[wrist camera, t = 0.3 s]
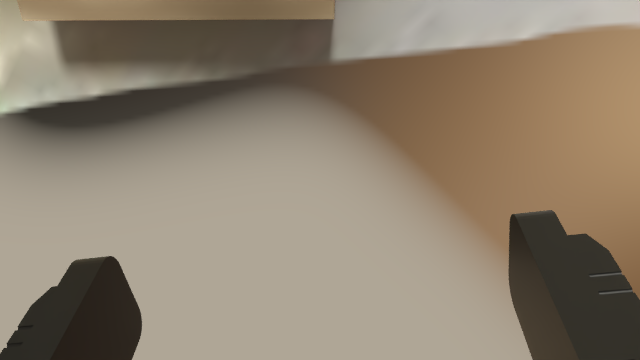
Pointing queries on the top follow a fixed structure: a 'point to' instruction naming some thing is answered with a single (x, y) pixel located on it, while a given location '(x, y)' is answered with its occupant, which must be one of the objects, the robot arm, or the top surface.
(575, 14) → the top surface
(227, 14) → the notched board
